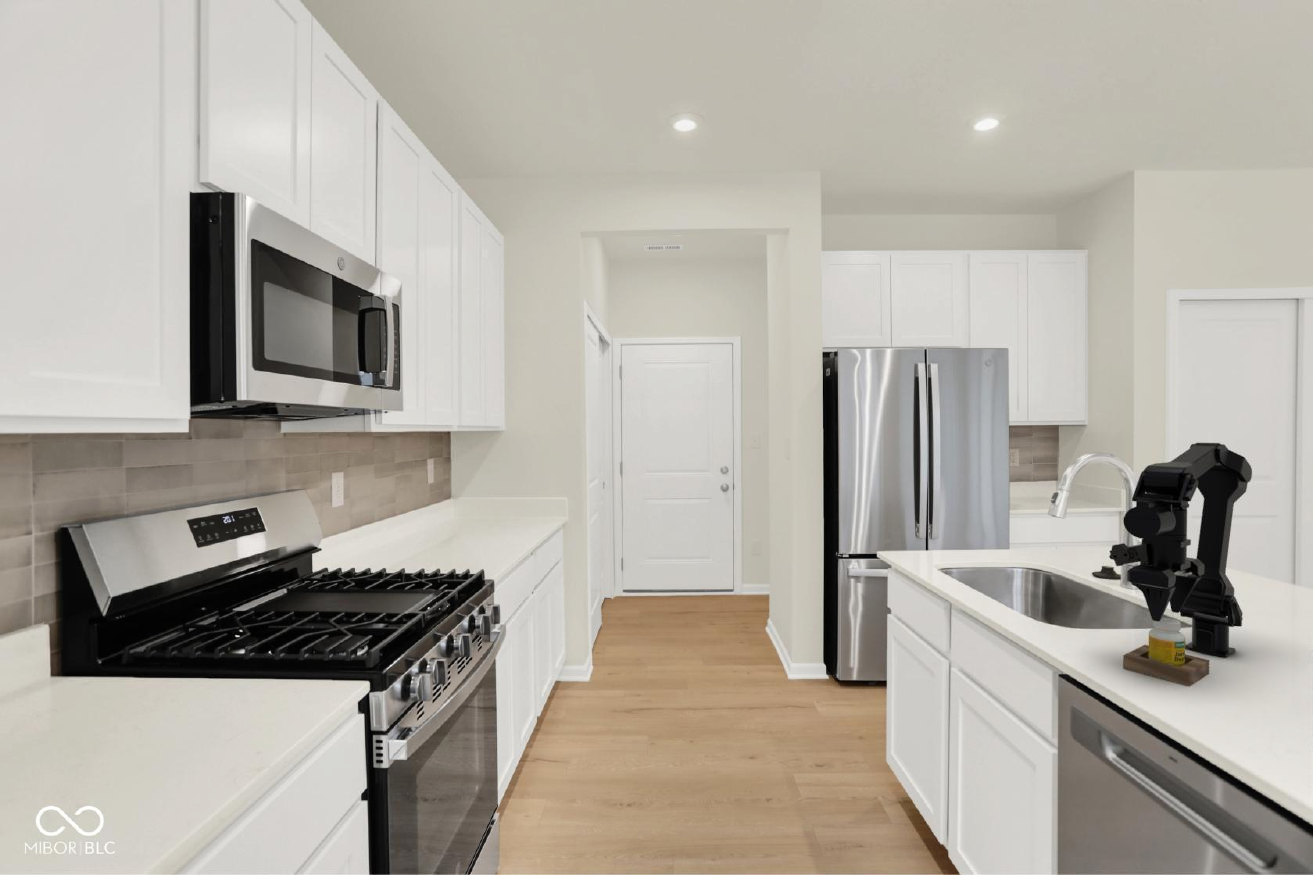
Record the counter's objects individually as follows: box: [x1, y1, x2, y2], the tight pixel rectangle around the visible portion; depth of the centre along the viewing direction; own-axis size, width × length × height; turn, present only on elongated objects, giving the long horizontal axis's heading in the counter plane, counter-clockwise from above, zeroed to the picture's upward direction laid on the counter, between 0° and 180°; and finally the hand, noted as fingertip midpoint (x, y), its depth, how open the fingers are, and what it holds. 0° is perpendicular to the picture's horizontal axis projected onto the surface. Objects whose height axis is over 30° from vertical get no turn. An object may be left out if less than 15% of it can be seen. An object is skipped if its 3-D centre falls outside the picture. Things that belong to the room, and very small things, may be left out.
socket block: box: [1122, 644, 1210, 687], centre depth 119 cm, size 10×10×2 cm
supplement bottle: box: [1148, 616, 1186, 667], centre depth 119 cm, size 5×5×10 cm
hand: (1165, 616), depth 119 cm, fingers open, 9 cm apart
